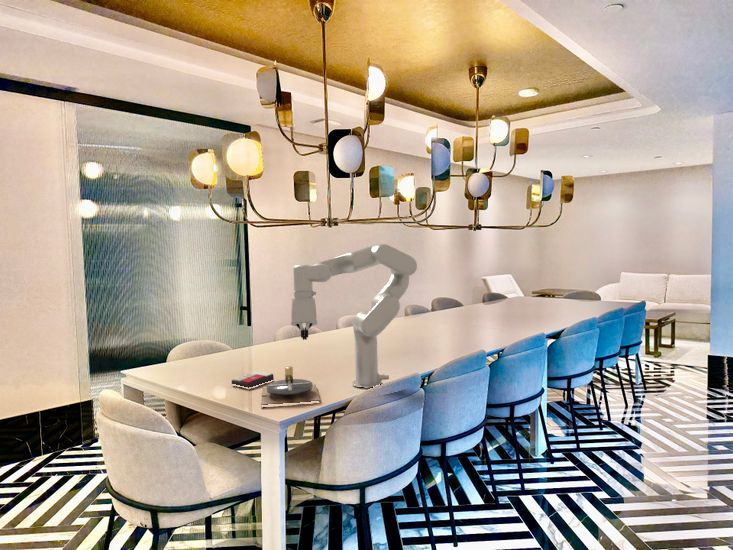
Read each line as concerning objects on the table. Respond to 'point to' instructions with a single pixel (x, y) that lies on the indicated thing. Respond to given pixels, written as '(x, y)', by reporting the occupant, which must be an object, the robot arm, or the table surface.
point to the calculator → (253, 379)
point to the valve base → (289, 397)
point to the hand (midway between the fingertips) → (304, 339)
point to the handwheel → (289, 385)
